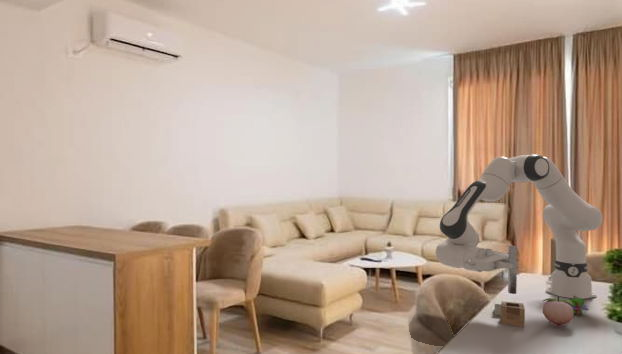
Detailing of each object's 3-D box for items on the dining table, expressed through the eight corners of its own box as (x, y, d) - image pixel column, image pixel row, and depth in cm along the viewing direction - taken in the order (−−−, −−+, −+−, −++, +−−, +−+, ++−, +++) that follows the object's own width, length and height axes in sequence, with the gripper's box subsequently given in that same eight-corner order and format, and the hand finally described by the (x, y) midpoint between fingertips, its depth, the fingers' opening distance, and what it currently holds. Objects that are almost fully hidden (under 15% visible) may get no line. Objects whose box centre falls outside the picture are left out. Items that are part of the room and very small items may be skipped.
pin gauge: (507, 291, 151) (508, 245, 151) (516, 292, 150) (516, 246, 150) (508, 293, 148) (508, 246, 148) (516, 294, 147) (517, 247, 148)
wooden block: (579, 283, 207) (580, 241, 207) (556, 282, 209) (557, 240, 209) (571, 278, 217) (571, 238, 217) (549, 277, 219) (550, 237, 219)
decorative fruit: (546, 329, 143) (546, 298, 143) (540, 321, 150) (540, 292, 150) (578, 332, 140) (578, 301, 140) (570, 324, 148) (570, 294, 148)
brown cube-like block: (501, 318, 154) (501, 301, 154) (523, 320, 151) (523, 303, 151) (501, 324, 147) (501, 306, 147) (524, 326, 144) (524, 308, 144)
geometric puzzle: (592, 314, 152) (587, 292, 157) (570, 312, 154) (566, 290, 159) (586, 321, 158) (581, 300, 163) (565, 319, 160) (561, 298, 164)
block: (494, 309, 164) (494, 298, 164) (514, 311, 161) (515, 301, 161) (494, 314, 157) (494, 303, 157) (516, 317, 154) (516, 306, 155)
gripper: (462, 253, 152) (501, 259, 142) (490, 248, 166) (528, 253, 155) (462, 271, 152) (500, 279, 142) (490, 264, 166) (527, 270, 155)
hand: (515, 265), depth 149 cm, fingers closed on pin gauge, 3 cm apart
